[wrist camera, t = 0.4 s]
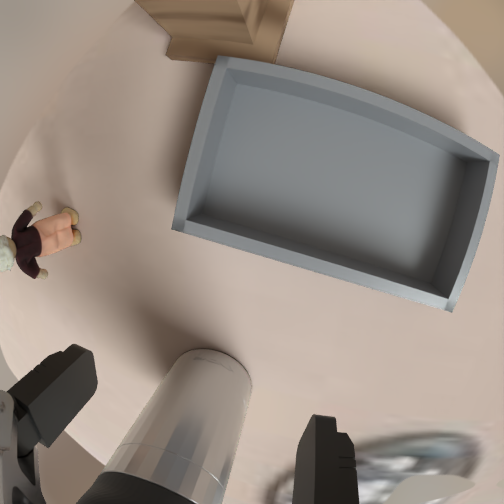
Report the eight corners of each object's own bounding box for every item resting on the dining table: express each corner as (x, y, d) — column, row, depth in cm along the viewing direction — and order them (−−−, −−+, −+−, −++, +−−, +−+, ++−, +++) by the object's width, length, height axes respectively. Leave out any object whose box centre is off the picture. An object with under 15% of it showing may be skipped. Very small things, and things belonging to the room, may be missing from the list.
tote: (430, 292, 25) (452, 312, 21) (192, 220, 27) (171, 229, 22) (471, 157, 22) (499, 154, 17) (231, 75, 24) (217, 55, 19)
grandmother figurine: (55, 203, 29) (-30, 219, 17) (76, 194, 29) (-14, 208, 16) (69, 266, 31) (-10, 302, 19) (91, 261, 30) (8, 300, 18)
